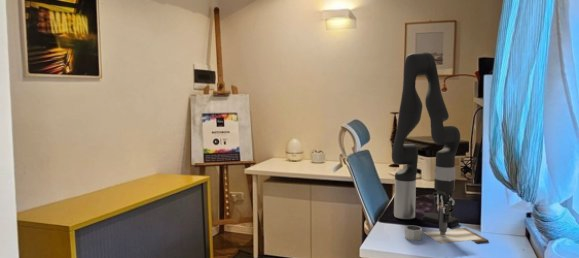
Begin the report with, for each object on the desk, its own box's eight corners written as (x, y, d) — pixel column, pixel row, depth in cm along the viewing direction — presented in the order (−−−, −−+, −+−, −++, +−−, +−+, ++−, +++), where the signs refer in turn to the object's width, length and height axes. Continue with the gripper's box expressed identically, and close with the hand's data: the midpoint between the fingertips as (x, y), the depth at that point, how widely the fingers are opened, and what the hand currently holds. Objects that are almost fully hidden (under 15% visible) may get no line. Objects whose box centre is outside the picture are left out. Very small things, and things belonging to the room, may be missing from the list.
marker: (437, 233, 181) (438, 204, 180) (444, 233, 181) (445, 203, 180) (441, 236, 178) (442, 205, 177) (448, 235, 179) (449, 205, 178)
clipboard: (416, 233, 186) (416, 231, 186) (465, 229, 191) (465, 227, 190) (436, 247, 171) (436, 244, 171) (488, 242, 176) (488, 239, 176)
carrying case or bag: (417, 222, 201) (448, 230, 190) (417, 215, 201) (449, 223, 190) (430, 217, 208) (461, 225, 198) (430, 211, 208) (461, 218, 197)
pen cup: (402, 238, 181) (402, 226, 180) (416, 237, 182) (416, 224, 181) (409, 243, 175) (410, 231, 174) (424, 242, 176) (424, 229, 175)
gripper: (426, 174, 183) (425, 216, 185) (445, 182, 170) (444, 227, 172) (443, 173, 185) (442, 215, 187) (464, 181, 171) (462, 226, 173)
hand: (443, 221), depth 179 cm, fingers closed on marker, 2 cm apart
